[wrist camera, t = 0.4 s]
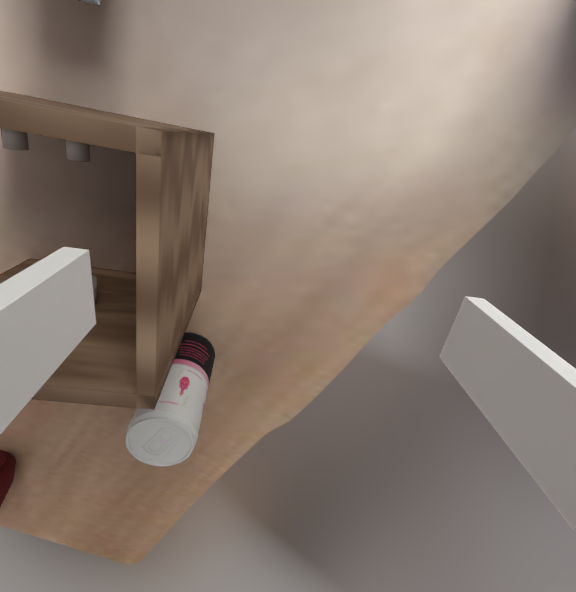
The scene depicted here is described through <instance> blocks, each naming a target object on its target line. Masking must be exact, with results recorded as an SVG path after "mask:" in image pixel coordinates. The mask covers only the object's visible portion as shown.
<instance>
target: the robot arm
mask: <svg viewBox="0 0 576 592" xmlns="http://www.w3.org/2000/svg"><path fill="white" fill-rule="evenodd" d="M95 324H96V316H95V306H94V295H93V285H92V274H91V264H90V253H89V250H87V249H79V248H71V247H62V248H60V249H59V250H57V251H55V252H54V253H52V254H50V255H49V256H47V257H45V258H43V259H42V260H40V261H38V262H37V263H35V264H33V265H31V266H30V267H28V268H26V269H25V270H23V271H21V272H20V273H18V274H16V275H14V276H13V277H11V278H9V279H8V280H6V281H4V282H2V283H1V284H0V434H1V433H2V432H3V431H4V430H5V429H6V427H7V426H8V425H9V424H10V423H11V422H12V420H13V419H14V418H15V417H16V416H17V415H18V413H19V412H20V411H21V410H22V409H23V408H24V407H25V405H26V404H27V403H28V402H29V401H30V400H31V398H32V397H33V396H34V395H35V394H36V393H37V391H38V390H39V389H40V388H41V387H42V386H43V384H44V383H45V382H46V381H47V380H48V379H49V378H50V376H51V375H52V374H53V373H54V372H55V371H56V369H57V368H58V367H59V366H60V365H61V364H62V362H63V361H64V360H65V359H66V358H67V357H68V356H69V354H70V353H71V352H72V351H73V350H74V349H75V347H76V346H77V345H78V344H79V343H80V342H81V340H82V339H83V338H84V337H85V336H86V335H87V333H88V332H89V331H90V330H91V329H92V328H93V327H94V325H95ZM439 357H440V359H441V360H442V361H443V363H444V364H445V365H446V366H447V368H448V369H449V370H450V372H451V373H452V374H453V376H454V377H455V378H456V379H457V381H458V382H459V383H460V385H461V386H462V387H463V388H464V390H465V391H466V392H467V394H468V395H469V396H470V397H471V399H472V400H473V401H474V403H475V404H476V405H477V407H478V408H479V409H480V410H481V412H482V413H483V414H484V415H485V417H486V418H487V420H488V421H489V422H490V423H491V425H492V426H493V427H494V428H495V430H496V431H497V432H498V434H499V435H500V436H501V438H502V439H503V440H504V442H505V443H506V444H507V445H508V447H509V448H510V449H511V451H512V452H513V453H514V454H515V456H516V457H517V458H518V460H519V461H520V462H521V463H522V465H523V466H524V467H525V469H526V470H527V471H528V472H529V474H530V475H531V476H532V478H533V479H534V480H535V481H536V483H537V484H538V485H539V487H540V488H541V489H542V491H543V492H544V493H545V495H546V496H547V497H548V498H549V500H550V501H551V502H552V504H553V505H554V506H555V507H556V509H557V510H558V511H559V513H560V514H561V515H562V517H563V518H564V519H565V520H566V522H567V523H568V524H569V526H570V527H571V528H572V529H573V530H576V369H575V368H573V367H572V366H571V365H570V364H569V363H567V362H566V361H565V360H563V359H562V358H561V357H559V356H558V355H557V354H555V353H554V352H553V351H551V350H550V349H549V348H548V347H546V346H545V345H544V344H542V343H541V342H540V341H539V340H537V339H536V338H535V337H533V336H532V335H531V334H529V333H528V332H527V331H525V330H524V329H523V328H522V327H520V326H519V325H518V324H516V323H515V322H514V321H512V320H511V319H510V318H508V317H507V316H506V315H505V314H503V313H502V312H501V311H499V310H498V309H497V308H495V307H494V306H493V305H491V304H490V303H489V302H488V301H486V300H485V299H483V298H475V297H467V296H465V297H464V300H463V302H462V304H461V307H460V309H459V312H458V314H457V316H456V318H455V321H454V323H453V326H452V328H451V330H450V333H449V335H448V338H447V340H446V342H445V344H444V347H443V349H442V351H441V354H440V356H439Z"/></svg>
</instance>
